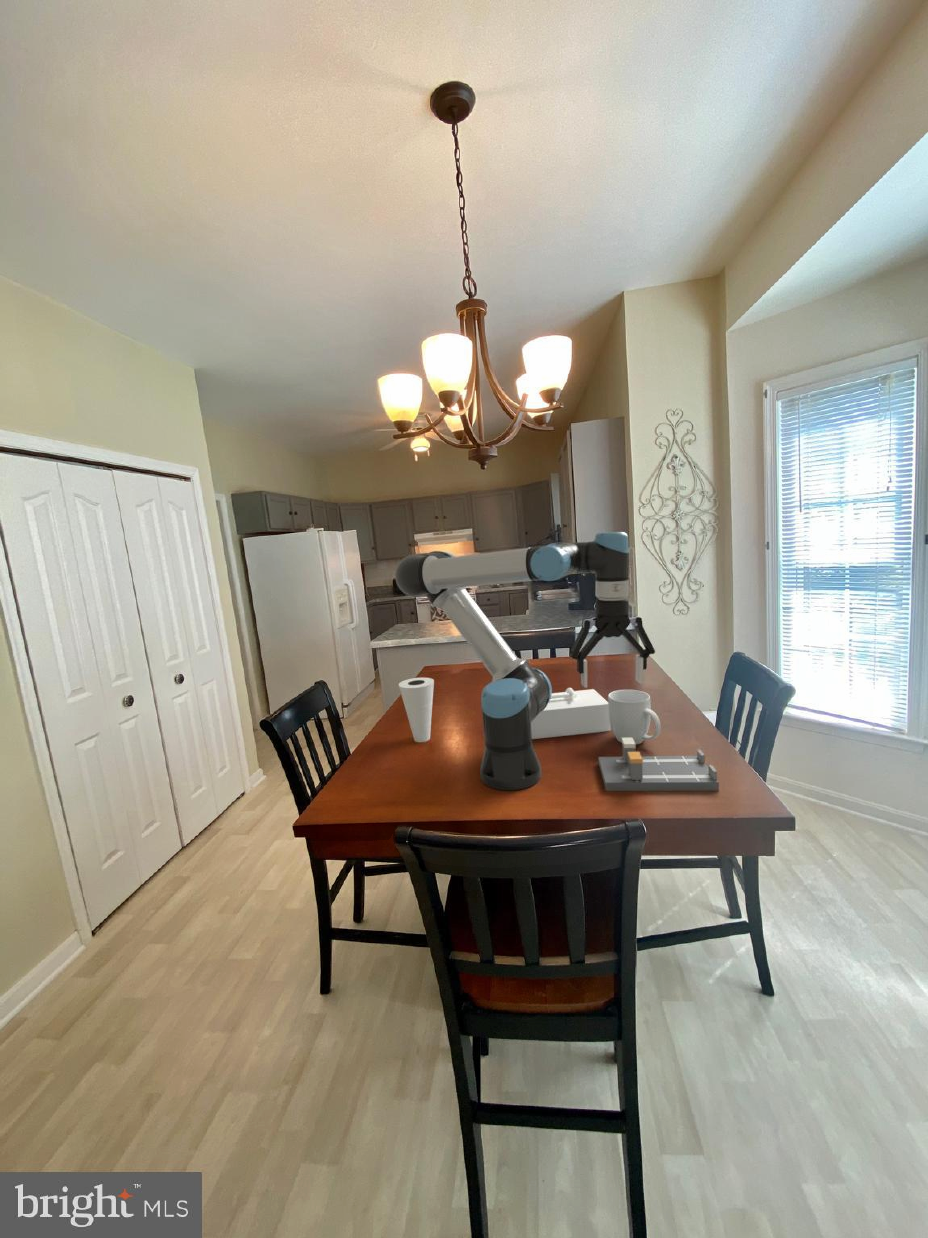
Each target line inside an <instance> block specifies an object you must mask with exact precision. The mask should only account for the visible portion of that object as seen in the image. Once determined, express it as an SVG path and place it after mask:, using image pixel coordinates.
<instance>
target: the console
mask: <svg viewBox="0 0 928 1238" xmlns="http://www.w3.org/2000/svg"><path fill="white" fill-rule="evenodd" d="M641 757H642V759H643V763H642V773H643V780H631V777H630V774H629V768H628V763H625V761H624V759H623V756H598V766H599V770H600V775H601V777H602V781H603V785H604V788H605V791H606V792H616V791H617V792H627V791H628V792H642V791H643V792H649V791H650V792H651V791H652V792H653V791H654V792H662V791H663V792H667V791H668V792H672V791H673V792H674V791H675V792H676V791H677V792H678V791H679V792H680V791H682V792H684V791H685V792H688V791H689V792H691V791H692V792H693V791H695V792H699V791H701V792H703V791H704V792H705V791H706V792H708V791H709V792H710V791H711V792H712V791H715V792H716V791H717V792H718V791H720V782H719V781H718V771H717V769H716V768H715V767H714V766H713V765H712V764H709V765H707V764H706V762H705V761H706V757H705V753H704V752H703V751H702V749H696V755H656V756H655V755H654V756H653V755H652V756H651V755H650V756H649V755H648V756H646V755H645V756H643V755H641Z"/></svg>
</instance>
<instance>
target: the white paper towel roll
mask: <svg viewBox="0 0 928 1238" xmlns="http://www.w3.org/2000/svg"><path fill="white" fill-rule="evenodd" d="M434 685H435V680H434V679H433V678H431V677H414V678H413V677H412V678H408V679H405V680H403V681H400V682H399V683H398V687H399V691H400V694H401V697H402V701H403V704H404V710H405V713H406V716H407V719H408V722H409V727H410V730H411V733H412V737H413V740H414V742H416V743H426V742H428V741H429V740H430V739H431V730H432V729H431V728H432V727H431V726H432V714H433V713H432V712H433V703H434V702H433V699H434V687H435V686H434Z"/></svg>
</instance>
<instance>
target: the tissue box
mask: <svg viewBox="0 0 928 1238" xmlns="http://www.w3.org/2000/svg"><path fill="white" fill-rule="evenodd" d="M608 705H609V704H608V700H607V699H605V698H604V697H603V696H602V695H601V694H600V693H599V692H598V691H596V690H595V689H594V688H592V689H582V690H574V689H573V688H572V687H567V688H565V691H563V692H552V695H551V699H550V701H549V703H548V705H547V706H546V708H545V709H544V710H543V711H541V712H540V713H539V714H538V715H537V716H536V717H535V719H534V720H533V721H532V722H531V733H532V740H535V739H536V740H537V739H538V740H539V739H545V738H546V739H547V738H553V737H554V738H555V737H557V738H558V737H563V736H575V735H576V736H577V735H585V734H594V733H601V732H602V733H603V732H611V731H612V727H611V723H610V718H609V706H608Z"/></svg>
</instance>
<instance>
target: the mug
mask: <svg viewBox="0 0 928 1238" xmlns="http://www.w3.org/2000/svg"><path fill="white" fill-rule="evenodd" d="M607 702H608V704H609V705H608V706H609V718H610V725H611V731H612V733H613V735H614V737H615V738H616V740H617V741H618V742H619V743H621V744H622V738H633V740H634V742H635V744H636V745H640V744H642V743H643V742H644V741H645V740H654V739H657V737H659V735H660V734H661V728H662V727H661V726H662V725H661V721H660V718H659V716H658V715H657V713H656V712H655V711H653V709H651V707H652V706H651V696H650V694H648V693H647V692H645V691H642V690H636V689H618V690H614V691H611V692H610V693H608V696H607ZM651 718H652V720H653V723H654V728H655V730H654V734H652V735H648V733H649V730H650V724H651Z"/></svg>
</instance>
